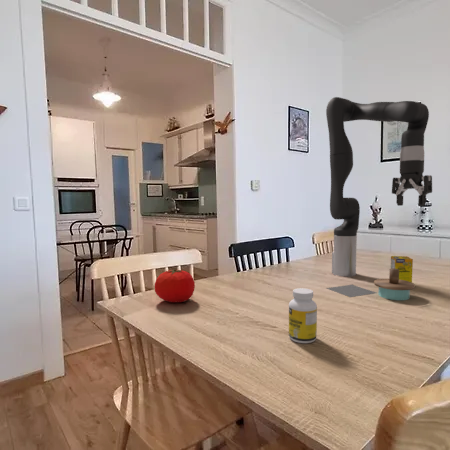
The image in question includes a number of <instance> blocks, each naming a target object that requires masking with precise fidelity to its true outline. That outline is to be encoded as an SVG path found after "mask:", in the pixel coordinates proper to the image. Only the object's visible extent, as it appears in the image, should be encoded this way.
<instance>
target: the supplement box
mask: <svg viewBox="0 0 450 450" xmlns="http://www.w3.org/2000/svg"><path fill="white" fill-rule="evenodd" d="M413 262H414V259H413V258H411V257H409V256H405V255H391V256H390V269H391V268H394V269H399V280H404V281H408V282H411V283H413V265H414V264H413Z"/></svg>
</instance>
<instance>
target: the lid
mask: <svg viewBox="0 0 450 450" xmlns="http://www.w3.org/2000/svg"><path fill="white" fill-rule="evenodd" d="M388 273H389V274H388V275H389V278H378V279H375V280H373V285H374V286H376V287H378V288H379V287H381V288H385V289H391V290H410V291H411V290H414V289H415V287H416V286H415V283H413V282H412V283H411V282H408V281H404V280H399V269H394V268H391V267H390V268H389V272H388Z"/></svg>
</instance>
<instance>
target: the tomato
mask: <svg viewBox="0 0 450 450" xmlns="http://www.w3.org/2000/svg"><path fill="white" fill-rule="evenodd" d="M195 288H196V284H195V280H194V277H193V275H192V274H191V273H189V272H188V271H185V270H182V269H176V268H174V269H172V270H171V269H169V270H164V271H162V273H160V274H159V275H158V276H157V278H156V279H155V283H154V292H155V294H156V295H157V296H158V298H160V300H163V301H165V302H169V303H184V302H187V301H188V300H189V299H190V298H192V296H193V295H194V292H195Z"/></svg>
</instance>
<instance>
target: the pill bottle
mask: <svg viewBox="0 0 450 450" xmlns="http://www.w3.org/2000/svg"><path fill="white" fill-rule="evenodd" d="M292 297H293V299H291V300H290V301H289V303H288V337H289V339H290V340H291V341H293V342H295V343H297V344H298V343H299V344H311V343H313V342H315V341H316V339H317V336H318V335H317V334H318V333H317V327H318V324H317V323H318V319H317V318H318V306H317V305H318V304H317V303H316V301H314V300H313V298H314V291H313V289H310V288H305V287H304V288H303V287H301V288H300V287H299V288H294V289H293V290H292Z"/></svg>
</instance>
